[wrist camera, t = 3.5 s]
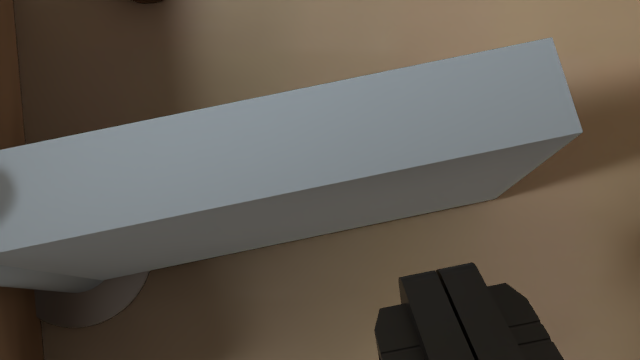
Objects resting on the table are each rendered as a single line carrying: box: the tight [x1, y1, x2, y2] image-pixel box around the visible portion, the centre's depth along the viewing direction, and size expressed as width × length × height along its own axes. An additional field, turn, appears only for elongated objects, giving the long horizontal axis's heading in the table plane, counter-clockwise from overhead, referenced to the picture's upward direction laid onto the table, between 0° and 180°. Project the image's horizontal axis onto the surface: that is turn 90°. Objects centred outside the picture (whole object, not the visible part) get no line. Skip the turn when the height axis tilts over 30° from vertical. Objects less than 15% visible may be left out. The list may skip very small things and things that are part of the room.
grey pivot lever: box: [0, 37, 583, 293], centre depth 16 cm, size 15×3×8 cm, turn 101°
